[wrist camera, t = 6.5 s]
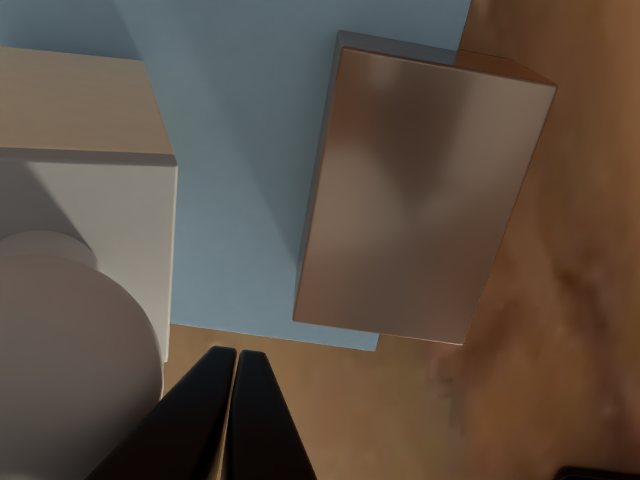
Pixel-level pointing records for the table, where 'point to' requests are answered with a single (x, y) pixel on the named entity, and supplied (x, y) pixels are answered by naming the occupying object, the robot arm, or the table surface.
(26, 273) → the salt mill
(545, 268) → the table surface
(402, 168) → the walnut block
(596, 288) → the table surface
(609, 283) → the table surface
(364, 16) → the placemat
